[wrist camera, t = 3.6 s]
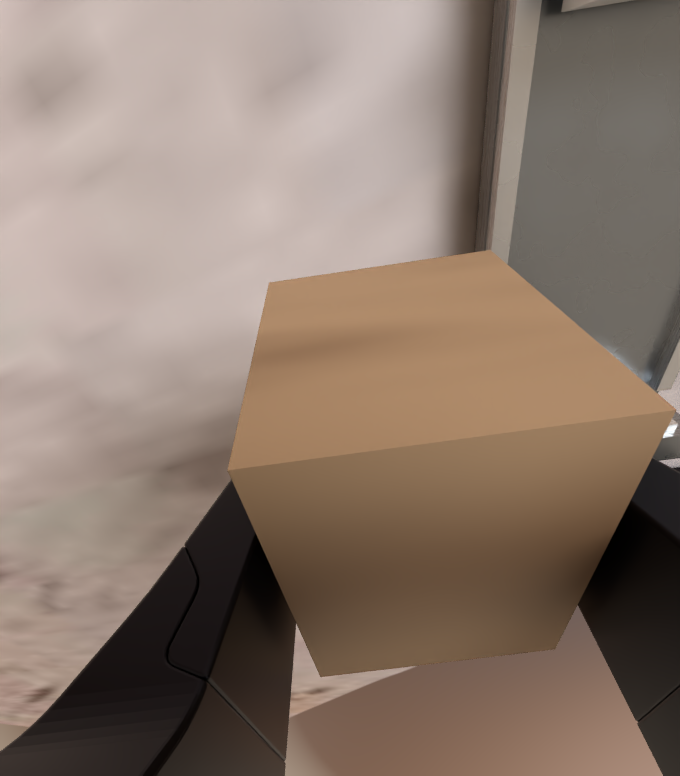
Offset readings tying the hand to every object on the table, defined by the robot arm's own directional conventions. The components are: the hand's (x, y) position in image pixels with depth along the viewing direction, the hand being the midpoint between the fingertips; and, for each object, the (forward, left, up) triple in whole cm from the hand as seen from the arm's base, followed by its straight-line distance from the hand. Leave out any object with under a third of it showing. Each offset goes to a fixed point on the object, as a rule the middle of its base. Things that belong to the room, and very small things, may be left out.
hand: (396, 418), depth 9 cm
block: (0, 0, -1) cm, 1 cm away
